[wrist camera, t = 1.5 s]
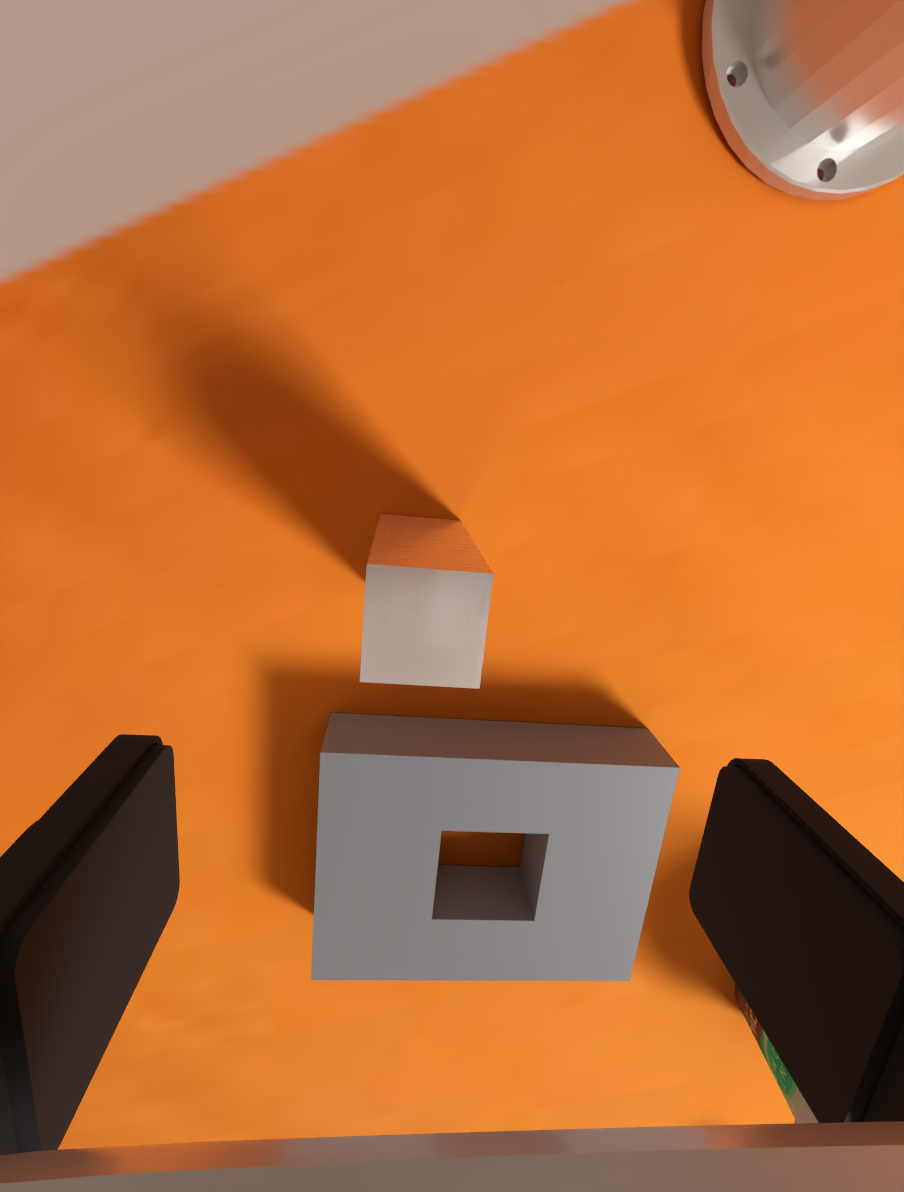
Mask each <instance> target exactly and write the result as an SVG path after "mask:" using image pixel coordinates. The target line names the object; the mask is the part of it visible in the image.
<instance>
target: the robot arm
mask: <svg viewBox="0 0 904 1192" xmlns="http://www.w3.org/2000/svg"><path fill="white" fill-rule="evenodd" d="M702 60H703V68H704V76H705V84H706V89H707V92H708V96H709V99H710V103H711V106H712V109H713V113H714V116H715V119H716V121H717V123H718V125H719V127H720V129H721V131H722V133H723V135H724V137H725V139H726V141H727V143H728V145H729V146H730V147H731V148H732V150H733V151H734V152H735V154H736V155H737V156H738V157H739V159H740V160H741V161H742V162H743V164H744V165H745V166H746V167H747V168H748V169H749V170H750V171H752V172H753V173H754V174H755V175H756V176H758V177H759V178H760V179H761V180H763V181H764V182H765V183H766V184H768V185H770V186H772V187H774V188H776V189H778V190H780V191H782V192H784V193H786V194H788V195H792V196H796V197H801V198H806V199H810V200H841V199H845V198H849V197H853V196H857V195H861V194H865V193H867V192H869V191H871V190H874V189H876V188H878V187H880V186H882V185H884V184H887V183H889V182H891V181H893V180H895V179H896V178H898V177H900V176H901V175H903V174H904V0H706V1H705V7H704V13H703V24H702ZM179 882H180V879H179V859H178V838H177V817H176V797H175V776H174V755H173V749H172V747H171V746H170V745H163V744H162V741H161V738H160V737H159V736H150V735H125V734H123V735H119V736H117V737H116V738H115V739H114V740H113V741H112V742H111V743H110V744H109V745H108V746H107V747H106V748H105V749H104V751H103V752H102V753H101V754H100V755H99V756H98V757H97V758H96V759H95V760H94V761H93V762H92V763H91V764H90V766H89V767H88V768H87V769H86V770H85V771H84V772H83V773H82V774H81V775H80V776H79V777H78V778H77V779H76V781H75V782H74V783H73V784H72V785H71V786H70V787H69V788H68V789H67V790H66V791H65V792H64V793H63V795H62V796H61V797H60V798H59V799H58V800H57V801H56V802H55V803H54V804H53V805H52V806H51V807H50V808H49V810H48V811H47V812H46V813H45V814H44V815H43V816H42V817H41V818H40V819H39V820H38V821H36V822H35V823H34V824H32V825H31V826H30V827H29V828H28V829H27V830H26V831H25V832H24V833H23V834H22V835H21V836H20V837H19V838H18V839H17V840H16V841H15V842H14V843H13V844H12V846H11V847H10V848H9V849H8V850H7V851H6V852H5V853H4V854H3V855H2V856H1V857H0V1192H904V882H903V881H901V880H900V879H899V878H898V877H897V876H896V875H895V874H894V873H893V872H892V871H891V870H889V869H888V868H887V867H886V866H885V865H884V864H883V863H882V862H881V861H880V860H878V859H877V858H876V857H875V856H874V855H873V854H872V853H871V852H870V851H869V850H867V849H866V848H865V847H864V846H863V845H862V844H861V843H860V842H859V841H858V840H857V839H855V838H854V837H853V836H852V835H851V834H850V833H849V832H848V831H847V830H846V829H844V828H843V827H842V826H841V825H840V824H839V823H838V822H837V821H836V820H835V819H834V818H832V817H831V816H830V815H829V814H828V813H827V812H826V811H825V810H824V809H823V808H821V807H820V806H819V805H818V804H817V803H816V802H815V801H814V800H813V799H812V798H810V797H809V796H808V795H807V794H806V793H805V792H804V791H803V790H802V789H801V788H800V787H798V786H797V785H796V784H795V783H794V782H793V781H792V780H791V779H790V778H789V777H787V776H786V775H785V774H784V773H783V772H782V771H781V770H780V769H779V768H778V767H777V766H775V765H774V764H773V763H772V762H770V761H769V760H764V759H739V758H735V759H733V760H731V761H730V762H729V763H728V765H727V766H725V767H722V769H721V770H720V772H719V774H718V778H717V782H716V786H715V790H714V794H713V798H712V802H711V806H710V810H709V814H708V818H707V822H706V826H705V830H704V834H703V838H702V842H701V846H700V850H699V854H698V858H697V862H696V866H695V870H694V874H693V878H692V882H691V886H690V891H689V897H690V904H691V907H692V910H693V912H694V914H695V916H696V918H697V919H698V921H699V923H700V924H701V926H702V928H703V929H704V931H705V933H706V934H707V936H708V938H709V939H710V941H711V943H712V944H713V946H714V948H715V950H716V951H717V953H718V955H719V956H720V958H721V960H722V961H723V963H724V965H725V966H726V968H727V970H728V971H729V973H730V975H731V976H732V978H733V980H734V981H735V983H736V985H737V987H738V988H739V990H740V992H741V993H742V995H743V997H744V998H745V1000H746V1002H747V1003H748V1005H749V1007H750V1008H751V1010H752V1012H753V1013H754V1015H755V1017H756V1018H757V1020H758V1022H759V1024H760V1025H761V1027H762V1029H763V1030H764V1032H765V1034H766V1035H767V1037H768V1039H769V1040H770V1042H771V1044H772V1045H773V1047H774V1049H775V1050H776V1052H777V1054H778V1055H779V1057H780V1059H781V1060H782V1062H783V1064H784V1066H785V1067H786V1069H787V1071H788V1072H789V1074H790V1076H791V1077H792V1079H793V1081H794V1082H795V1084H796V1086H797V1087H798V1089H799V1091H800V1092H801V1094H802V1096H803V1097H804V1099H805V1101H806V1103H807V1104H808V1106H809V1108H810V1109H811V1111H812V1113H813V1114H814V1116H815V1118H816V1119H817V1121H818V1122H819V1123H802V1124H757V1125H713V1126H674V1127H638V1128H603V1129H568V1130H535V1131H502V1132H470V1133H437V1134H409V1135H381V1136H353V1137H325V1138H298V1139H270V1140H242V1141H215V1142H192V1143H174V1144H156V1145H138V1146H120V1147H102V1148H84V1149H67V1150H57V1149H58V1147H59V1145H60V1144H61V1142H62V1140H63V1138H64V1136H65V1133H66V1131H67V1129H68V1127H69V1125H70V1123H71V1121H72V1119H73V1117H74V1115H75V1113H76V1111H77V1109H78V1106H79V1104H80V1102H81V1100H82V1098H83V1096H84V1094H85V1092H86V1090H87V1088H88V1086H89V1084H90V1081H91V1079H92V1077H93V1075H94V1073H95V1071H96V1069H97V1067H98V1065H99V1063H100V1061H101V1059H102V1057H103V1054H104V1052H105V1050H106V1048H107V1046H108V1044H109V1042H110V1040H111V1038H112V1036H113V1034H114V1032H115V1030H116V1027H117V1025H118V1023H119V1021H120V1019H121V1017H122V1015H123V1013H124V1011H125V1009H126V1007H127V1005H128V1002H129V1000H130V998H131V996H132V994H133V992H134V990H135V988H136V986H137V984H138V982H139V980H140V978H141V975H142V973H143V971H144V969H145V967H146V965H147V963H148V961H149V959H150V957H151V955H152V953H153V950H154V948H155V946H156V944H157V942H158V940H159V938H160V936H161V934H162V932H163V930H164V928H165V926H166V923H167V921H168V919H169V917H170V915H171V913H172V911H173V909H174V906H175V904H176V901H177V897H178V892H179Z"/></svg>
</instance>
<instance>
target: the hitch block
mask: <svg viewBox="0 0 904 1192" xmlns="http://www.w3.org/2000/svg"><path fill="white" fill-rule="evenodd" d="M679 770H680V767H679V766H678V765H677V764H676V762H675V761H674V760H673V759H672V757H671V756H670V755H669V754H668V753H667V751H666V750H665V749H664V748H663V746H662V745H661V744H660V743H659V741H658V740H657V739H656V738H655V736H654V735H653V734H652V733H651V732H650V730H649V729H648V728H631V727H611V726H591V725H571V724H551V723H531V722H512V721H492V720H472V719H452V718H432V717H412V716H392V715H372V714H353V713H333V712H331V713H330V717H329V721H328V725H327V729H326V732H325V736H324V740H323V744H322V748H321V752H320V773H319V798H318V823H317V848H316V873H315V898H314V923H313V948H312V973H311V980H476V981H630V977H631V973H632V969H633V964H634V960H635V956H636V952H637V948H638V943H639V939H640V935H641V931H642V926H643V922H644V918H645V914H646V909H647V905H648V901H649V897H650V892H651V888H652V884H653V880H654V876H655V871H656V867H657V863H658V859H659V854H660V850H661V846H662V842H663V837H664V833H665V829H666V825H667V820H668V816H669V812H670V808H671V804H672V799H673V795H674V791H675V787H676V782H677V778H678V774H679ZM442 831H465V832H499V833H525V839H524V845H523V852H522V858H521V864H520V867H502V866H460V865H438V859H439V850H440V841H441V832H442Z"/></svg>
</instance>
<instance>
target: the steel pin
mask: <svg viewBox="0 0 904 1192" xmlns="http://www.w3.org/2000/svg"><path fill="white" fill-rule="evenodd" d="M492 582H493V572H492V571H491V569H490V567H489V566H488V564H487V562H486V561H485V559H484V557H483V556H482V554H481V553H480V551H479V549H478V548H477V546H476V544H475V543H474V541H473V540H472V538H471V536H470V535H469V533H468V531H467V530H466V528H465V527H464V525H463V523H462V522H461V520H449V519H437V518H426V517H414V516H403V515H391V514H380V518H379V522H378V525H377V529H376V532H375V536H374V539H373V543H372V547H371V550H370V554H369V557H368V561H367V567H366V584H365V601H364V618H363V635H362V652H361V668H360V682H369V683H387V684H404V685H422V686H440V687H458V688H476V689H480V681H481V672H482V664H483V656H484V648H485V639H486V631H487V623H488V615H489V607H490V598H491V590H492Z"/></svg>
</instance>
